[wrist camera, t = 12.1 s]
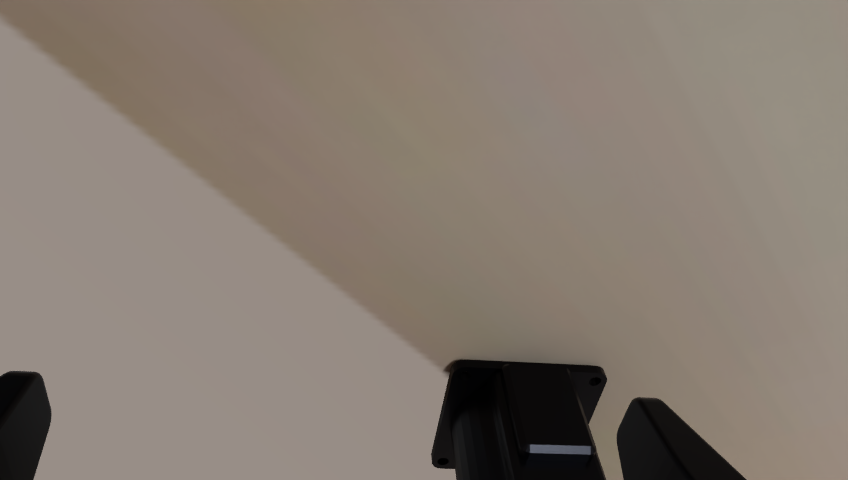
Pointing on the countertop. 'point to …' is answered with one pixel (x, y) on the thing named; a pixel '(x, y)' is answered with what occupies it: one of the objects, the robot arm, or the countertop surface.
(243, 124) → the countertop surface
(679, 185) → the countertop surface
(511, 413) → the robot arm
